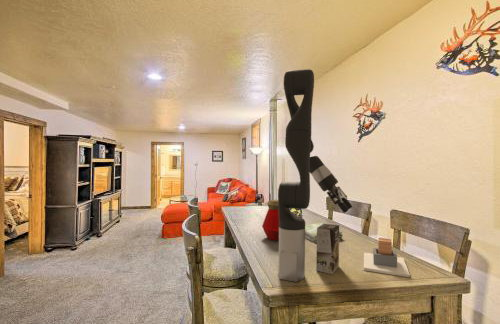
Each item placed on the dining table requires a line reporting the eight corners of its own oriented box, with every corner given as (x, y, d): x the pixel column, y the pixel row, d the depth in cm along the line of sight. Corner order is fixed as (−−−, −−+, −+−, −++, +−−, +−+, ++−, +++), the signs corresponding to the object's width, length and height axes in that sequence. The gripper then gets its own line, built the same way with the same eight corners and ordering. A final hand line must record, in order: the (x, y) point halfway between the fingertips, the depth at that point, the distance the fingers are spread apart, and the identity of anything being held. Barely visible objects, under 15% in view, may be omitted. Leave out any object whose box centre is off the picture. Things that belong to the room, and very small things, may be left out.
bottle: (295, 240, 138) (296, 201, 138) (275, 244, 131) (275, 203, 131) (276, 233, 151) (276, 197, 151) (256, 236, 144) (256, 199, 144)
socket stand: (409, 277, 95) (409, 263, 95) (363, 270, 101) (363, 256, 101) (403, 260, 112) (403, 248, 112) (363, 254, 118) (364, 243, 118)
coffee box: (333, 274, 97) (333, 230, 97) (315, 270, 100) (316, 227, 100) (339, 266, 105) (340, 224, 105) (323, 263, 108) (323, 222, 108)
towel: (314, 243, 134) (314, 233, 134) (293, 232, 154) (293, 223, 154) (344, 240, 140) (344, 230, 140) (321, 230, 160) (321, 221, 160)
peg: (391, 265, 104) (391, 242, 103) (378, 263, 105) (378, 240, 105) (390, 261, 108) (391, 238, 108) (378, 259, 109) (378, 237, 109)
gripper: (327, 173, 109) (353, 207, 104) (335, 172, 121) (358, 202, 116) (312, 184, 112) (337, 218, 107) (322, 181, 124) (344, 211, 120)
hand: (348, 209), depth 112 cm, fingers open, 8 cm apart
